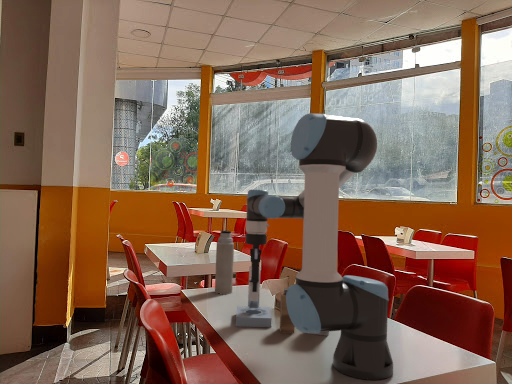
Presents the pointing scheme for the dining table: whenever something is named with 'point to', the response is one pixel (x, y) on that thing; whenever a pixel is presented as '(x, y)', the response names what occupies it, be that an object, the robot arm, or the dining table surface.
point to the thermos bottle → (224, 263)
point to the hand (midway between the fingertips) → (253, 298)
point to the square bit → (285, 315)
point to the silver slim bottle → (250, 303)
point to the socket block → (253, 316)
